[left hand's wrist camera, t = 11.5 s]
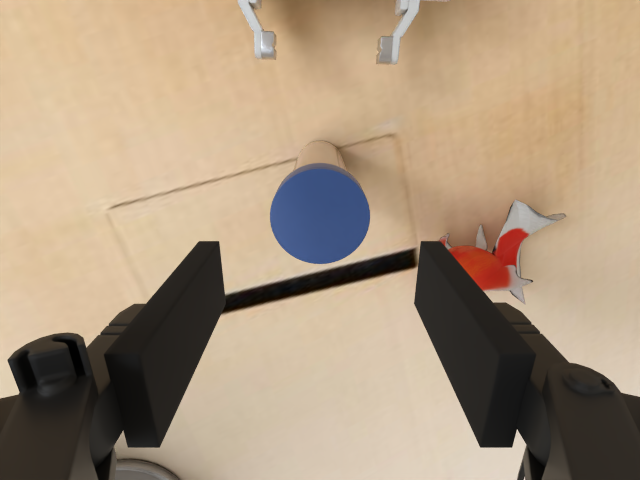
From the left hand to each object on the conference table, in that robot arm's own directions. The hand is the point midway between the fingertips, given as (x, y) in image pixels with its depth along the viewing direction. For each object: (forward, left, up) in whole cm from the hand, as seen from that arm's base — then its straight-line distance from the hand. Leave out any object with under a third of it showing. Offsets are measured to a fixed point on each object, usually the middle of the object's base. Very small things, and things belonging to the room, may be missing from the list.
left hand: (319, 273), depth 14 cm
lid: (0, 0, -7) cm, 7 cm away
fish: (-1, -19, -25) cm, 32 cm away
